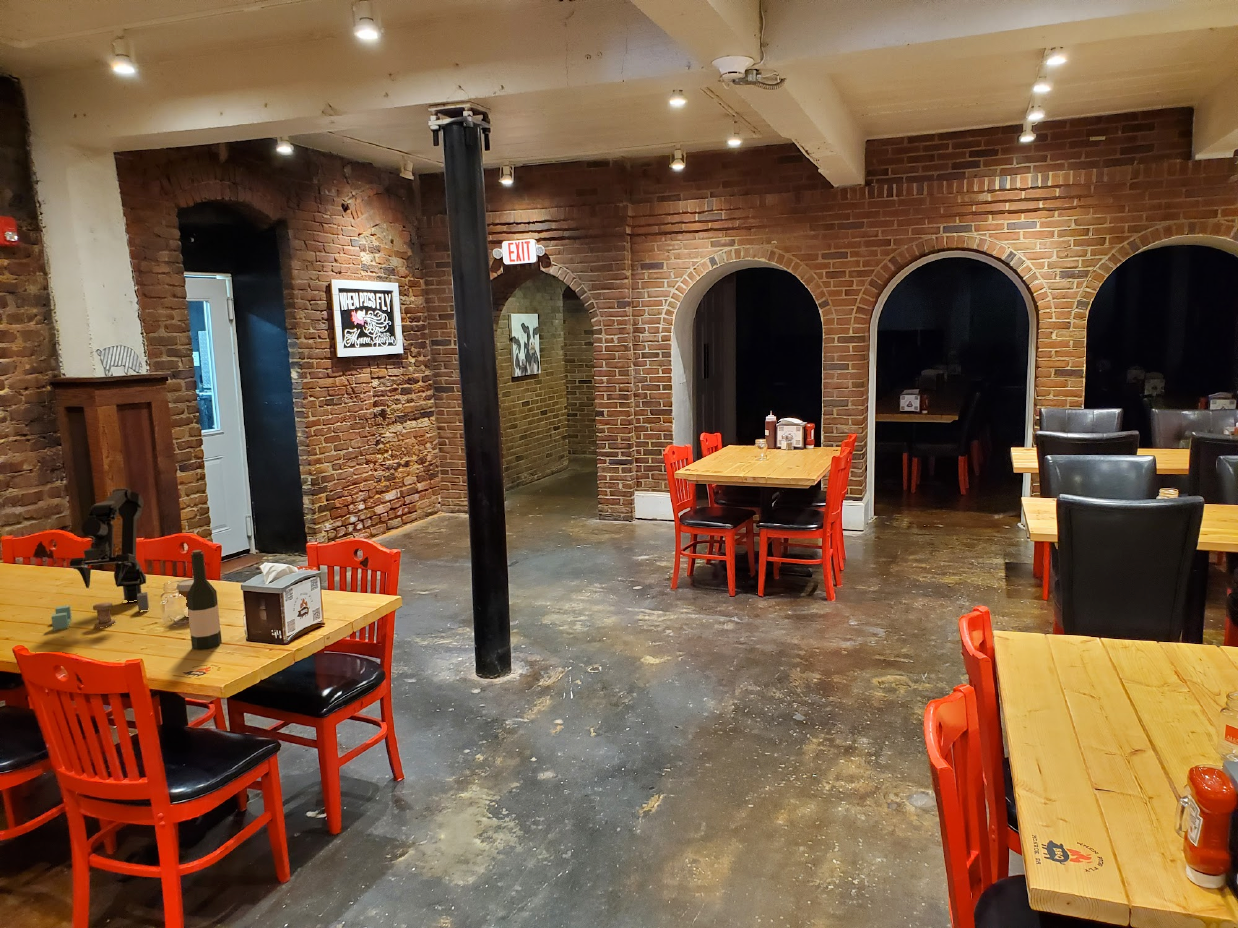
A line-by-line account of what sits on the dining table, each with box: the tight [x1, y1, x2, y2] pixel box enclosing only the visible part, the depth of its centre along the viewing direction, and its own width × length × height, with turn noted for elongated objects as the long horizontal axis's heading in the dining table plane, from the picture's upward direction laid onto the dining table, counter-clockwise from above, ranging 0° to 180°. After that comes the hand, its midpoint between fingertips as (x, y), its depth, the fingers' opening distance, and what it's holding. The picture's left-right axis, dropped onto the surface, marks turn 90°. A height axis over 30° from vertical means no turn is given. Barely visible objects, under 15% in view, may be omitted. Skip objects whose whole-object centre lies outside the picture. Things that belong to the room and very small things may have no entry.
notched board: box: [51, 604, 73, 632], centre depth 281 cm, size 12×4×5 cm, turn 27°
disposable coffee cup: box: [175, 577, 194, 606], centre depth 287 cm, size 10×10×12 cm
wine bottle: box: [186, 549, 223, 651], centre depth 255 cm, size 8×8×30 cm
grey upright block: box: [137, 592, 150, 612], centre depth 294 cm, size 4×3×6 cm
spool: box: [92, 602, 116, 629], centre depth 279 cm, size 6×6×7 cm
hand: (102, 586), depth 279 cm, fingers open, 9 cm apart
